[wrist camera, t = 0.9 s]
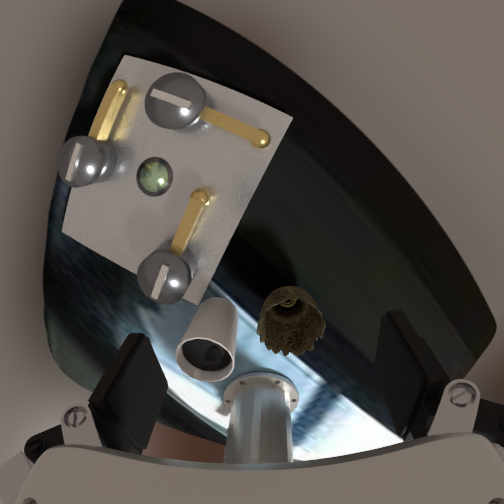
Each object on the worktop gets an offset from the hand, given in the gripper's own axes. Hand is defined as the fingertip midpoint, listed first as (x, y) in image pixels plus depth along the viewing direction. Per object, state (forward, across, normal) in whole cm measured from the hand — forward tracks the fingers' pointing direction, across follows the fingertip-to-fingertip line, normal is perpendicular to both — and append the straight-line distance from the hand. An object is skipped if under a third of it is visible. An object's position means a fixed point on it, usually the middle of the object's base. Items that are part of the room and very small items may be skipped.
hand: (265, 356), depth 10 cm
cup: (+25, -1, +12) cm, 27 cm away
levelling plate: (+25, +12, -6) cm, 29 cm away
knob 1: (+24, +4, -12) cm, 27 cm away
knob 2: (+23, +10, +2) cm, 25 cm away
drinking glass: (+25, +8, +14) cm, 29 cm away
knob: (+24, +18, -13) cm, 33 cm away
